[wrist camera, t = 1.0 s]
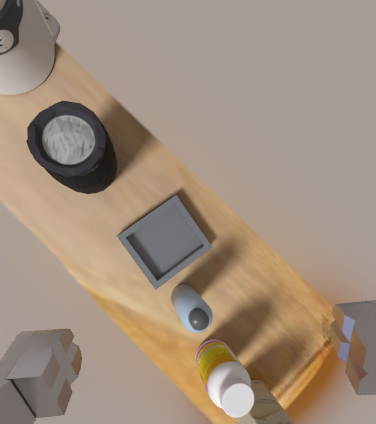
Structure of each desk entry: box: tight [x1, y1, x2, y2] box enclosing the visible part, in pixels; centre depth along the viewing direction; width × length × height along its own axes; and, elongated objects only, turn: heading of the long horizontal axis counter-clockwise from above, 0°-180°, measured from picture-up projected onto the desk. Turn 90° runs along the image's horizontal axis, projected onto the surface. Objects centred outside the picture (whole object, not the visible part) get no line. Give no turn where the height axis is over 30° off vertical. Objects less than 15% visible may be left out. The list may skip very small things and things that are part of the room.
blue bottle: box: [171, 284, 212, 333], centre depth 45 cm, size 4×4×12 cm
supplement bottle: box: [195, 339, 254, 418], centre depth 46 cm, size 7×7×13 cm
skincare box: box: [237, 380, 294, 424], centre depth 47 cm, size 6×4×12 cm
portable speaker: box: [27, 101, 117, 194], centre depth 40 cm, size 9×9×20 cm
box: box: [117, 195, 212, 289], centre depth 50 cm, size 11×12×2 cm
